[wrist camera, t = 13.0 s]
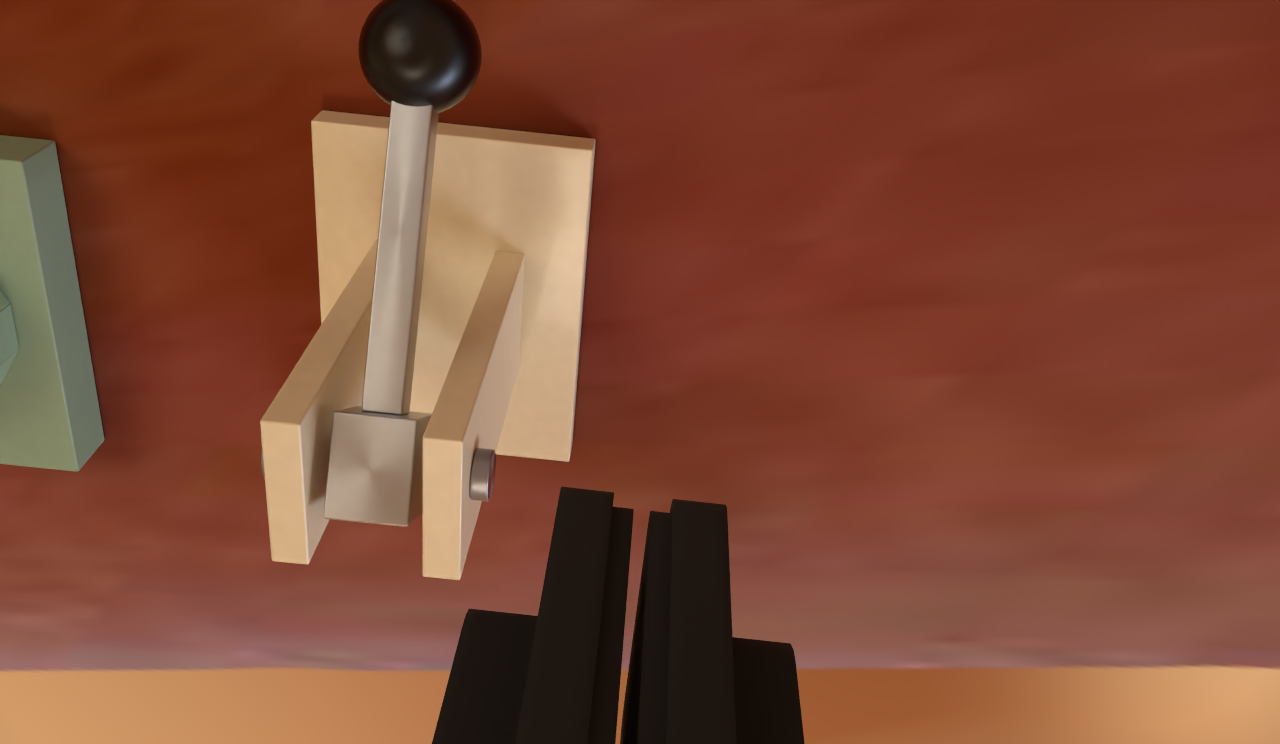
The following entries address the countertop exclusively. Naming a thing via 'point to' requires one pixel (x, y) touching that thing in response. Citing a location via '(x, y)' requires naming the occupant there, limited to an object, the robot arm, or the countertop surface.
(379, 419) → the lever
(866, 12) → the countertop surface
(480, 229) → the bracket
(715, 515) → the robot arm
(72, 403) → the button box
